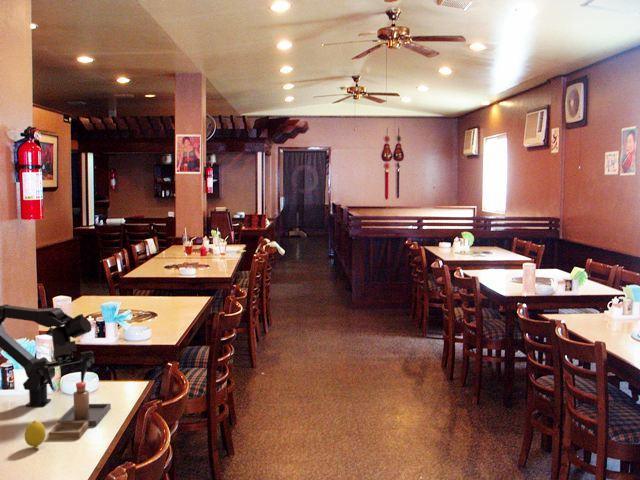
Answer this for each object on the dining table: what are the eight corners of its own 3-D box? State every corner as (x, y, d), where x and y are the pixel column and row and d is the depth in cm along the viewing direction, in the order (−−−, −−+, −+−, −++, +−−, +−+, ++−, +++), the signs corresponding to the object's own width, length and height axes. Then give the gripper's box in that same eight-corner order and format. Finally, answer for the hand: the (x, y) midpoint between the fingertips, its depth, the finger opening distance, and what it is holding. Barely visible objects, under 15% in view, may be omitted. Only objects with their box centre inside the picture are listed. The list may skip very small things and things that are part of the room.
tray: (74, 409, 213) (74, 404, 213) (110, 408, 213) (110, 403, 213) (57, 426, 197) (57, 421, 197) (96, 426, 198) (96, 420, 197)
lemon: (37, 452, 178) (37, 425, 177) (20, 450, 179) (19, 423, 178) (49, 444, 183) (49, 418, 183) (33, 443, 184) (32, 416, 184)
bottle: (77, 415, 204) (75, 381, 204) (91, 415, 205) (90, 381, 204) (72, 420, 200) (71, 385, 199) (86, 420, 200) (85, 385, 199)
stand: (59, 428, 196) (59, 421, 196) (88, 427, 196) (88, 421, 196) (48, 439, 187) (48, 432, 187) (79, 438, 188) (79, 432, 187)
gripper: (29, 339, 204) (34, 385, 197) (89, 328, 211) (96, 372, 204) (33, 351, 213) (38, 395, 206) (91, 341, 220) (97, 383, 213)
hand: (67, 386), depth 207 cm, fingers open, 9 cm apart
